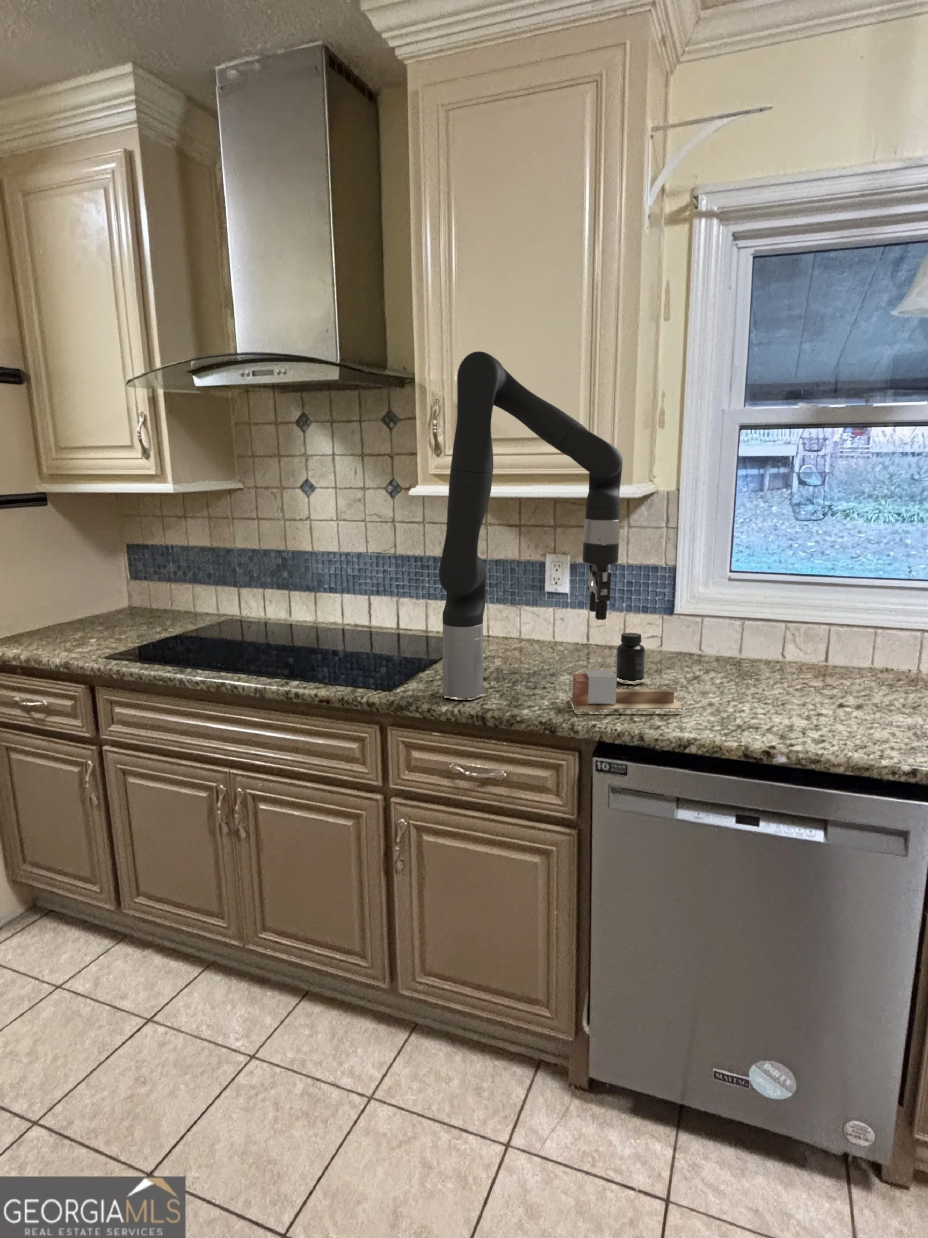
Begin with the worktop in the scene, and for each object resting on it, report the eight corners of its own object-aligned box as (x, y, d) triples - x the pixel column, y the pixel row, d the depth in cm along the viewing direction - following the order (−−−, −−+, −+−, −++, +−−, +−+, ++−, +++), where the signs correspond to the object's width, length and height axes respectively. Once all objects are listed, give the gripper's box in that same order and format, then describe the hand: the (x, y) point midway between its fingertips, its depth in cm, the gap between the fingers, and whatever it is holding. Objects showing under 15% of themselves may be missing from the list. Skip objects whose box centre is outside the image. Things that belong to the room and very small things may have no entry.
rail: (574, 714, 155) (575, 683, 154) (569, 701, 164) (569, 671, 163) (682, 714, 155) (684, 683, 154) (671, 701, 164) (672, 671, 162)
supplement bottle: (639, 677, 183) (641, 631, 180) (647, 685, 176) (649, 637, 173) (612, 678, 182) (614, 631, 180) (619, 686, 176) (621, 637, 173)
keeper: (587, 703, 156) (588, 676, 155) (583, 695, 162) (584, 669, 161) (615, 703, 156) (616, 676, 155) (610, 695, 162) (611, 669, 161)
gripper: (578, 537, 161) (575, 608, 165) (588, 543, 147) (584, 622, 151) (612, 537, 161) (609, 609, 165) (625, 544, 147) (621, 622, 151)
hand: (597, 615), depth 158 cm, fingers open, 8 cm apart
